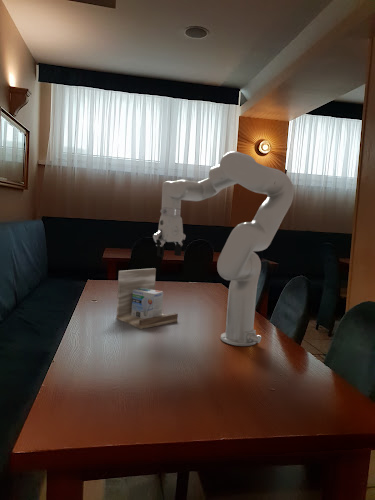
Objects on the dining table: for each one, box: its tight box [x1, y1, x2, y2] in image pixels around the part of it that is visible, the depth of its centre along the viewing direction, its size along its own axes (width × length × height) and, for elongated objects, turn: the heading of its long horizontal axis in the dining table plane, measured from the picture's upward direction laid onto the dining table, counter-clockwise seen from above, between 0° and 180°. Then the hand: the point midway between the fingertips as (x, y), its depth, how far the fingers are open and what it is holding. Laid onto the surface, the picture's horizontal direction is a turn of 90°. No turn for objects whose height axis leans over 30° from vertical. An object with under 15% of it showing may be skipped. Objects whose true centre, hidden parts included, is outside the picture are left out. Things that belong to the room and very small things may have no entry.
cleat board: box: [116, 267, 179, 330], centre depth 151 cm, size 16×18×19 cm
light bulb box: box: [131, 288, 164, 319], centre depth 152 cm, size 11×7×11 cm, turn 60°
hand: (169, 256), depth 153 cm, fingers open, 9 cm apart
